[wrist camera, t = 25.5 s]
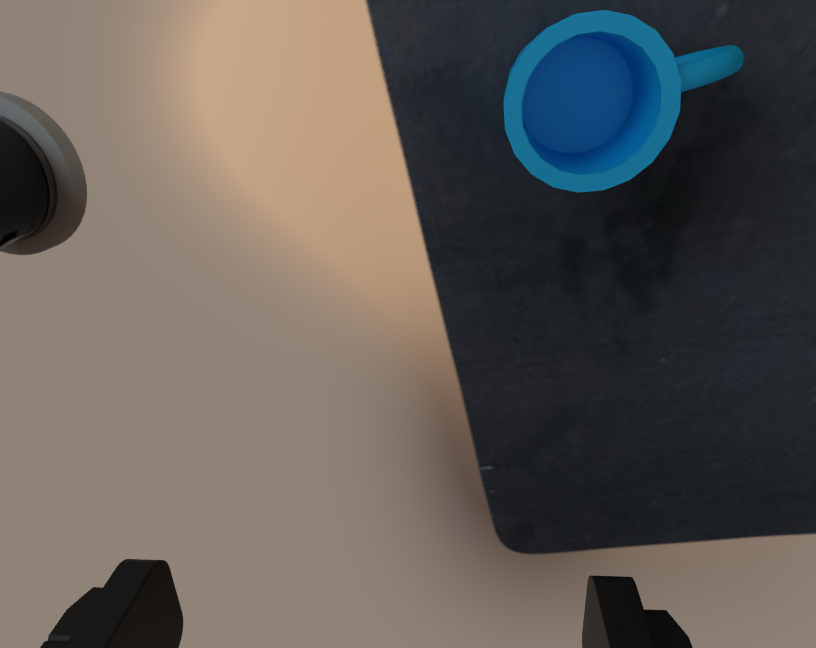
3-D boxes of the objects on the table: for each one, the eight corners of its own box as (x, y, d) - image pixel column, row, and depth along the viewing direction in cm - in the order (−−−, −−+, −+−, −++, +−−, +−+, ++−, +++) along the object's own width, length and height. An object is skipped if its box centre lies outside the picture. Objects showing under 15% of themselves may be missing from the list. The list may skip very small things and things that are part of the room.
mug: (520, 180, 39) (522, 209, 31) (490, 44, 36) (485, 42, 29) (723, 128, 36) (779, 147, 28) (708, -24, 33) (766, -47, 26)
